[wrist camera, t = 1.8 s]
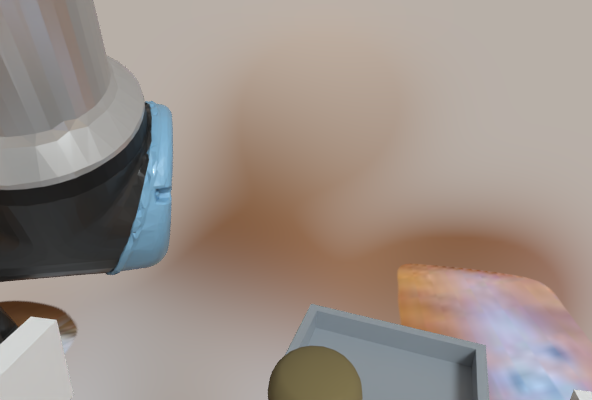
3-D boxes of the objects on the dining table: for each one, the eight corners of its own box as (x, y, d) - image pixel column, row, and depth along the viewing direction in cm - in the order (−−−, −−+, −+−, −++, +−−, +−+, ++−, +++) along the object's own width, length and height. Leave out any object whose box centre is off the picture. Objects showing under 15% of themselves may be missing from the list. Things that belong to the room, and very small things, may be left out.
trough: (269, 411, 34) (269, 386, 33) (310, 325, 43) (311, 303, 42) (484, 480, 30) (493, 453, 29) (479, 368, 39) (485, 345, 38)
